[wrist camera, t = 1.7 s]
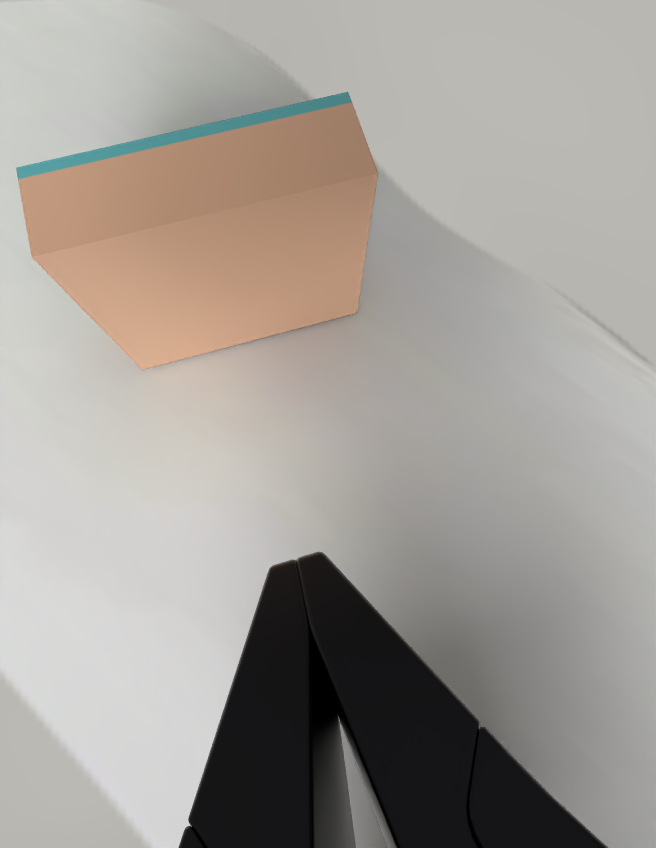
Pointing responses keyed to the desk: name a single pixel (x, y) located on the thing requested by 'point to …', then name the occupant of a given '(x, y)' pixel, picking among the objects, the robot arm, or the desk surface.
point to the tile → (210, 229)
